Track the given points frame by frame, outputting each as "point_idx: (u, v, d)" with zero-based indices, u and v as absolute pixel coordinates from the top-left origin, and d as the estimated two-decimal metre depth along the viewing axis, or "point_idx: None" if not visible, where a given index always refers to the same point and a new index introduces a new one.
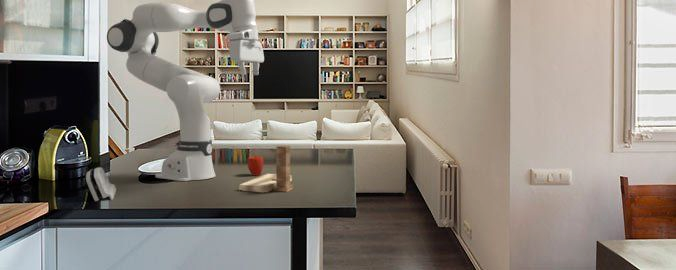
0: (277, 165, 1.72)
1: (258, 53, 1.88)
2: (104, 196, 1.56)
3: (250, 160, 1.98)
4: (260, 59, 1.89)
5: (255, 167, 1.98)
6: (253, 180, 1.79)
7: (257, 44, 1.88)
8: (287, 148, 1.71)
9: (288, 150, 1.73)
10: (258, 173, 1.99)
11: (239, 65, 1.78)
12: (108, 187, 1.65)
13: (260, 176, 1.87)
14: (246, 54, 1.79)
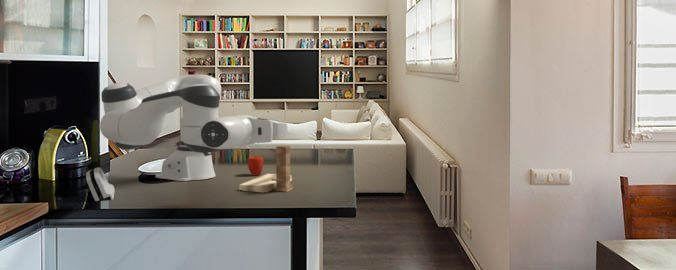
0: (277, 165, 1.72)
1: None
2: (105, 196, 1.56)
3: (250, 160, 1.98)
4: None
5: (255, 167, 1.98)
6: (253, 180, 1.79)
7: None
8: (287, 148, 1.71)
9: (288, 150, 1.73)
10: (258, 173, 1.99)
11: None
12: (107, 187, 1.65)
13: (260, 176, 1.87)
14: None
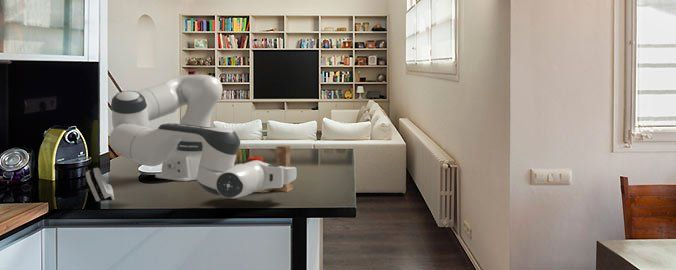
0: None
1: None
2: (106, 196, 1.56)
3: (250, 160, 1.98)
4: None
5: None
6: None
7: None
8: (287, 148, 1.71)
9: (288, 150, 1.73)
10: None
11: None
12: (106, 187, 1.65)
13: None
14: None
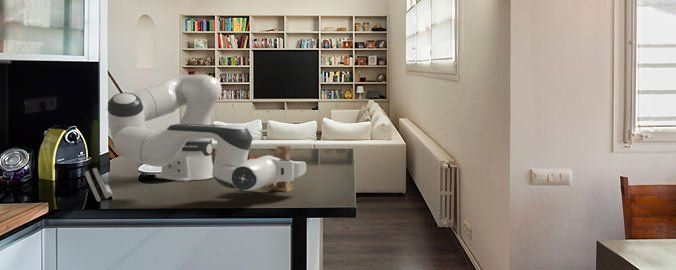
0: None
1: None
2: (106, 196, 1.56)
3: None
4: None
5: None
6: None
7: None
8: (287, 148, 1.71)
9: (288, 150, 1.73)
10: None
11: None
12: (106, 187, 1.64)
13: None
14: None
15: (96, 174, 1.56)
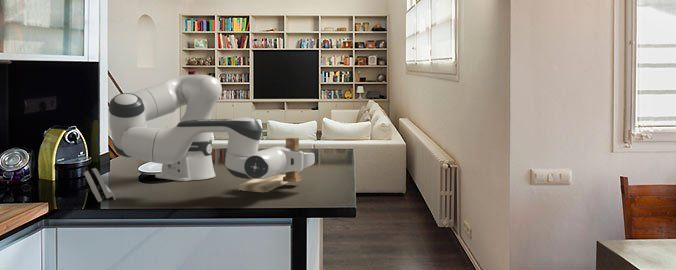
0: None
1: None
2: (108, 196, 1.56)
3: None
4: None
5: None
6: (253, 180, 1.79)
7: None
8: (296, 140, 1.77)
9: (297, 142, 1.79)
10: None
11: None
12: None
13: None
14: None
15: (97, 174, 1.56)
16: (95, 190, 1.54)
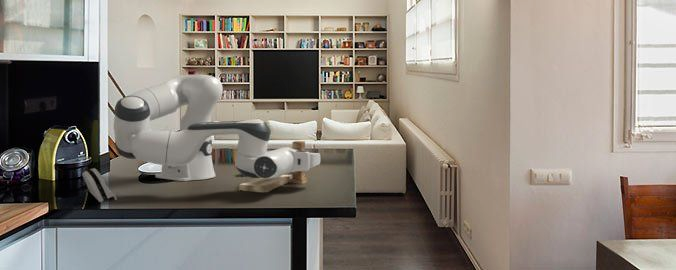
0: None
1: None
2: (109, 196, 1.56)
3: None
4: None
5: None
6: (253, 180, 1.79)
7: None
8: (302, 143, 1.85)
9: (303, 146, 1.86)
10: None
11: None
12: None
13: None
14: None
15: (97, 174, 1.56)
16: (96, 190, 1.54)
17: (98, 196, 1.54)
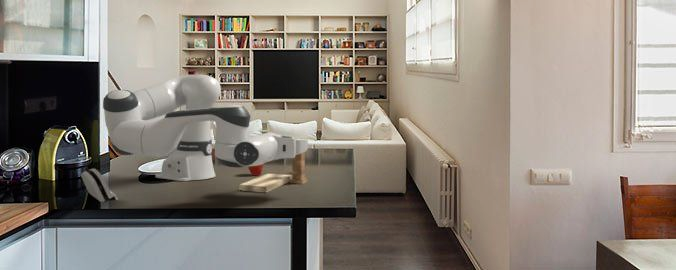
0: (293, 159, 1.85)
1: None
2: (110, 196, 1.56)
3: None
4: None
5: (255, 167, 1.98)
6: (253, 180, 1.79)
7: None
8: None
9: None
10: (258, 173, 1.99)
11: None
12: None
13: (260, 176, 1.87)
14: None
15: (98, 174, 1.56)
16: (97, 190, 1.54)
17: (99, 196, 1.54)
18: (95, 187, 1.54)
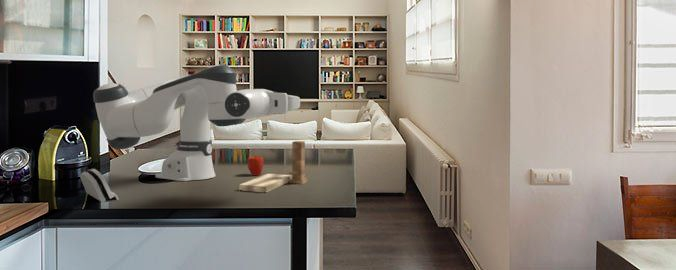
0: (293, 159, 1.85)
1: None
2: (111, 196, 1.56)
3: (250, 160, 1.98)
4: None
5: (255, 167, 1.98)
6: (253, 180, 1.79)
7: None
8: (302, 143, 1.85)
9: (303, 146, 1.86)
10: (258, 173, 1.99)
11: None
12: None
13: (260, 176, 1.87)
14: None
15: (99, 175, 1.56)
16: (98, 190, 1.54)
17: (100, 196, 1.54)
18: (96, 187, 1.53)
